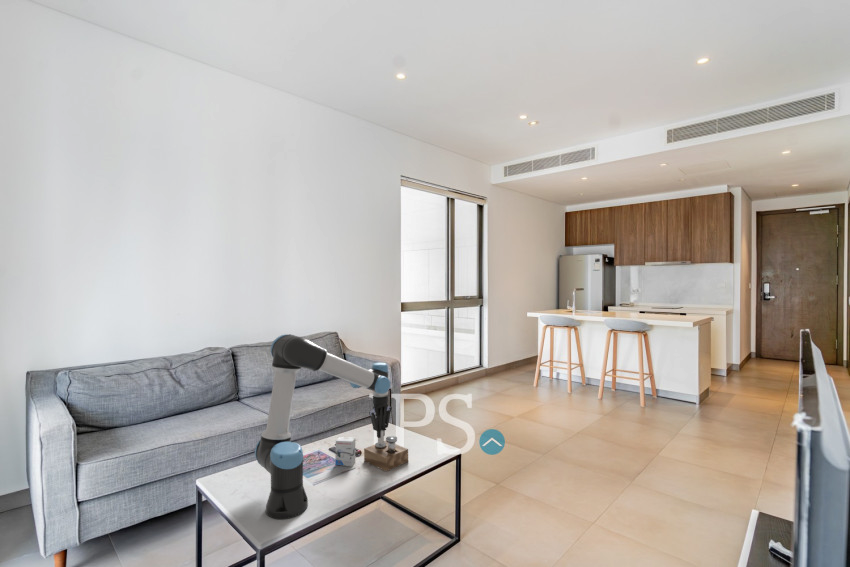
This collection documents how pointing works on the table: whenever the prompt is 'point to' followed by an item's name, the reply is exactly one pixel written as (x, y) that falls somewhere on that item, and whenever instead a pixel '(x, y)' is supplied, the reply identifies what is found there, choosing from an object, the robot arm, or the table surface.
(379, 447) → the peg far
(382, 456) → the socket block
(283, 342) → the robot arm
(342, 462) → the ink box
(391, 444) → the peg near
